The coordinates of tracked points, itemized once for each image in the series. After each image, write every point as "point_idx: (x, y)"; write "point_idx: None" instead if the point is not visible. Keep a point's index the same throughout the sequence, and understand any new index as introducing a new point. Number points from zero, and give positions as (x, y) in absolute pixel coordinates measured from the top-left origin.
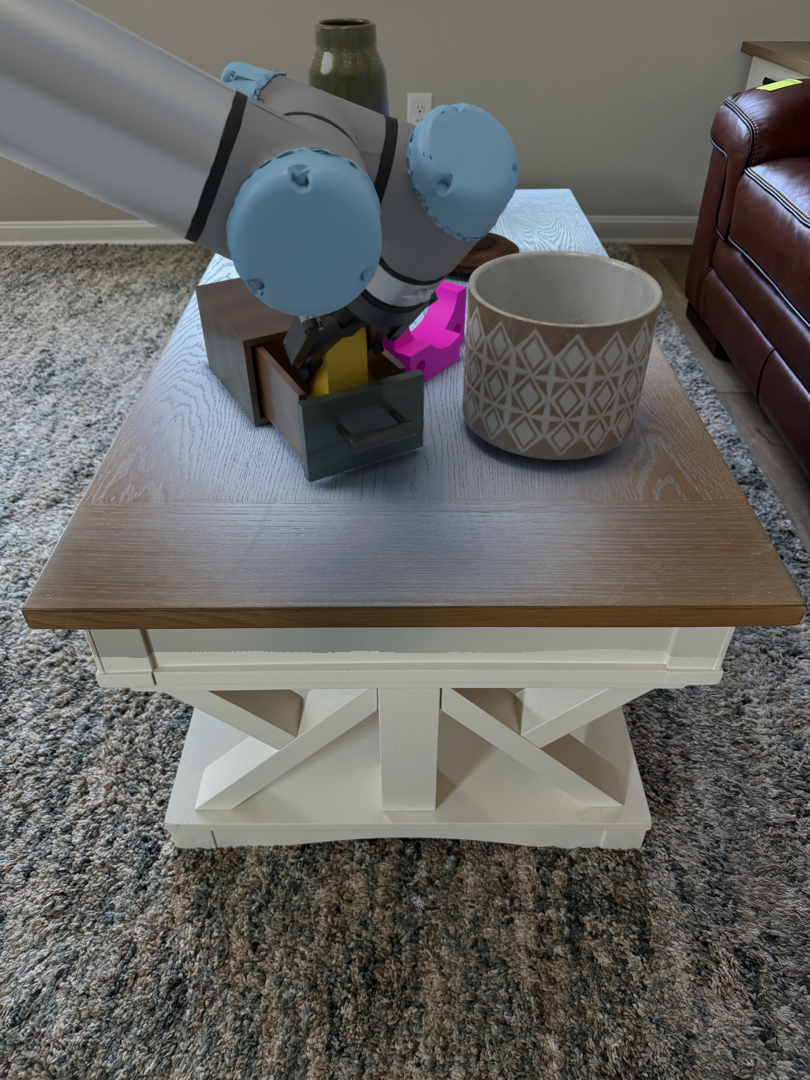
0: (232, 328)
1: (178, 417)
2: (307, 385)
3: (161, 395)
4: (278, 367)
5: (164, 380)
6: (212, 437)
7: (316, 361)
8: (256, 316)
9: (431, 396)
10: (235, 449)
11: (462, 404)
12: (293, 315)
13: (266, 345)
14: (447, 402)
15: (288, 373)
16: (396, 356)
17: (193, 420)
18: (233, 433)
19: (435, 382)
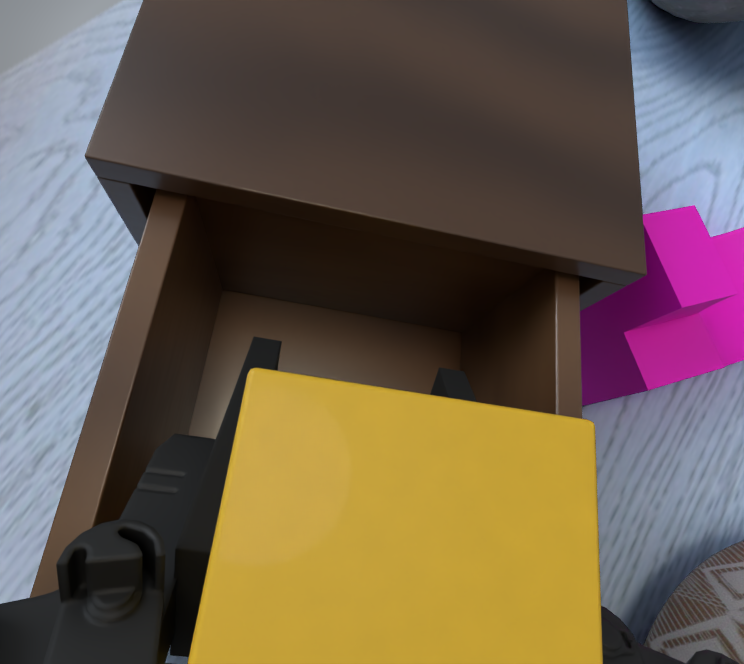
0: (126, 47)
1: (54, 156)
2: (343, 302)
3: (86, 57)
4: (110, 406)
5: (134, 13)
6: (59, 283)
7: (172, 647)
8: (272, 35)
9: (610, 460)
10: (68, 368)
11: (658, 651)
12: (396, 118)
13: None
14: (630, 509)
15: (292, 270)
16: (616, 344)
17: (74, 189)
18: (114, 300)
19: (647, 410)
